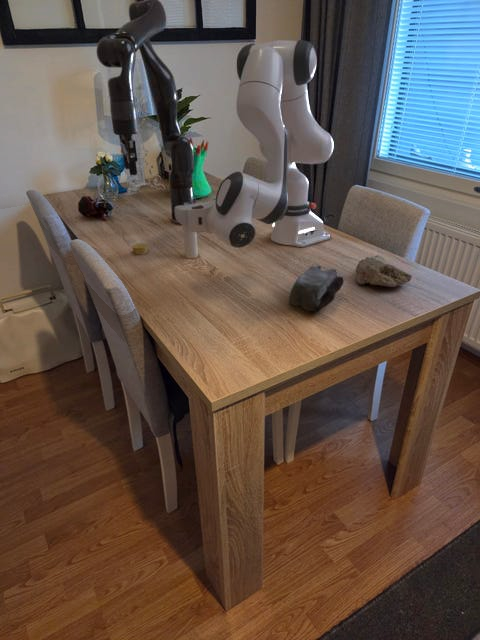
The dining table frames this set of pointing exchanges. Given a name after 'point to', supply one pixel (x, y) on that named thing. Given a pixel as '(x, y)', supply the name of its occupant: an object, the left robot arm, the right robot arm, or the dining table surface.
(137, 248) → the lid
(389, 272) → the artifact
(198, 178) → the toy
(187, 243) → the white tall cylinder
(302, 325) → the dining table surface
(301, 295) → the rock
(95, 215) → the toy
